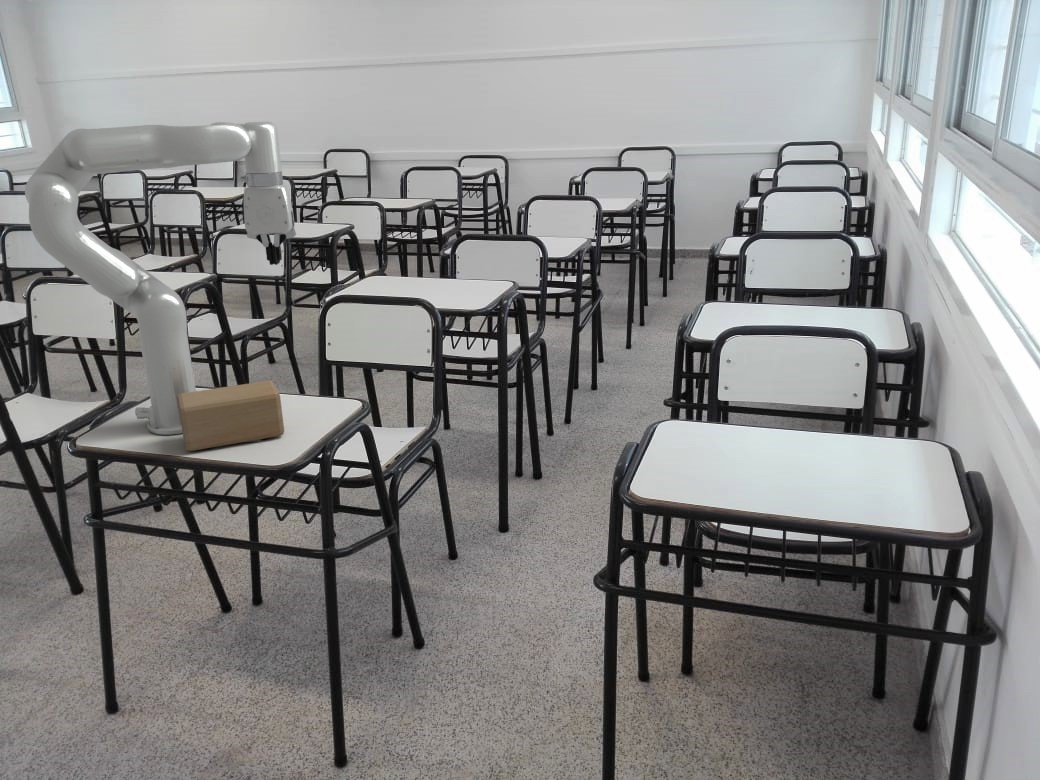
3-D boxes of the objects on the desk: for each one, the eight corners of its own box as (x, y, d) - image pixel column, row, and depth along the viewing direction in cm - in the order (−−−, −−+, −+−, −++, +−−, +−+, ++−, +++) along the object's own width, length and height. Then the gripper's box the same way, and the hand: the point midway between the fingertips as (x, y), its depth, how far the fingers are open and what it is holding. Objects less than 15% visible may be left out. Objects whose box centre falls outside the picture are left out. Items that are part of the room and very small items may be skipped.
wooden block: (278, 420, 189) (183, 436, 181) (273, 378, 186) (176, 392, 178) (285, 436, 180) (186, 453, 173) (280, 392, 177) (178, 408, 169)
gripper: (225, 183, 181) (237, 267, 188) (295, 181, 182) (304, 266, 188) (235, 179, 188) (246, 261, 195) (303, 178, 189) (311, 259, 195)
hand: (275, 263), depth 191 cm, fingers closed
